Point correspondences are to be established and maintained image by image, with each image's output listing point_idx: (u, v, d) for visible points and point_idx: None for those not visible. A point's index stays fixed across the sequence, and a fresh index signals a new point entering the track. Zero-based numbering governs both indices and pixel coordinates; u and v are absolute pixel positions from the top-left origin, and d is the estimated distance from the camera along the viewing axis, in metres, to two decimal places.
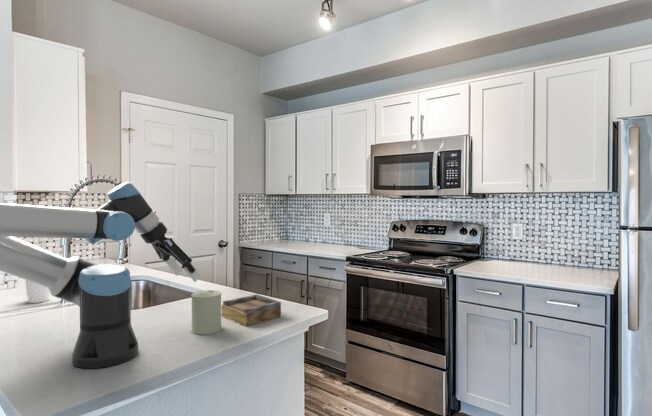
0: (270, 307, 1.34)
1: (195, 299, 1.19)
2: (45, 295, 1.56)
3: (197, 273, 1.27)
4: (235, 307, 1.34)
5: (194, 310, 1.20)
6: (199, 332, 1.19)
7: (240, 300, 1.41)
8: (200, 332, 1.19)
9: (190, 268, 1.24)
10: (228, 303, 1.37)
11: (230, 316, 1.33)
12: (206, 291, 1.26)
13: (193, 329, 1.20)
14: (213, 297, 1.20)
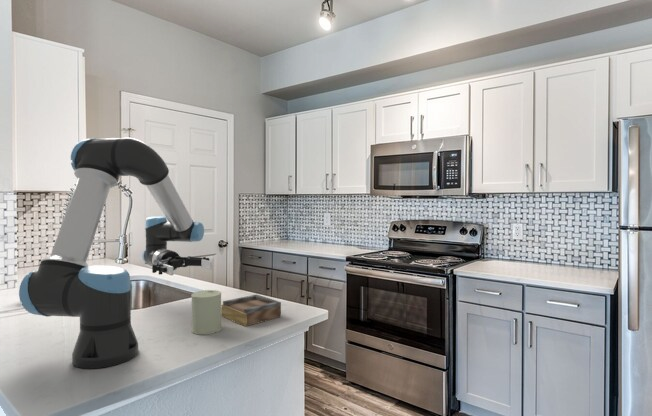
0: (270, 307, 1.34)
1: (195, 299, 1.19)
2: None
3: None
4: (235, 307, 1.34)
5: (194, 310, 1.20)
6: (199, 332, 1.19)
7: (240, 300, 1.41)
8: (200, 332, 1.19)
9: None
10: (228, 303, 1.37)
11: (230, 316, 1.33)
12: (206, 291, 1.26)
13: (193, 329, 1.20)
14: (213, 297, 1.20)
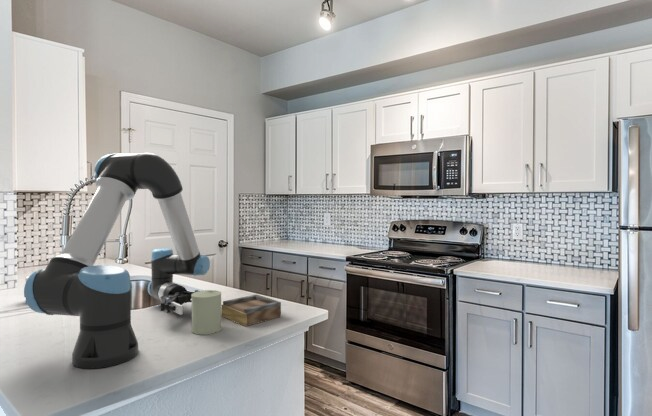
0: (270, 307, 1.34)
1: (195, 299, 1.19)
2: None
3: None
4: (235, 307, 1.34)
5: (194, 310, 1.20)
6: (199, 332, 1.19)
7: (240, 300, 1.41)
8: (200, 332, 1.19)
9: None
10: (228, 303, 1.37)
11: (230, 316, 1.33)
12: (206, 291, 1.26)
13: (193, 329, 1.20)
14: (213, 297, 1.20)
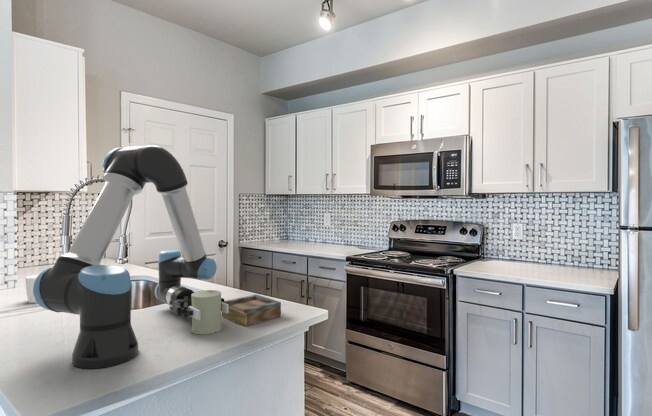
0: (270, 307, 1.34)
1: (195, 299, 1.19)
2: None
3: None
4: (235, 307, 1.34)
5: None
6: (199, 332, 1.19)
7: (240, 300, 1.41)
8: (200, 332, 1.19)
9: None
10: (228, 303, 1.37)
11: (230, 316, 1.33)
12: (206, 291, 1.26)
13: (193, 329, 1.20)
14: (213, 297, 1.20)
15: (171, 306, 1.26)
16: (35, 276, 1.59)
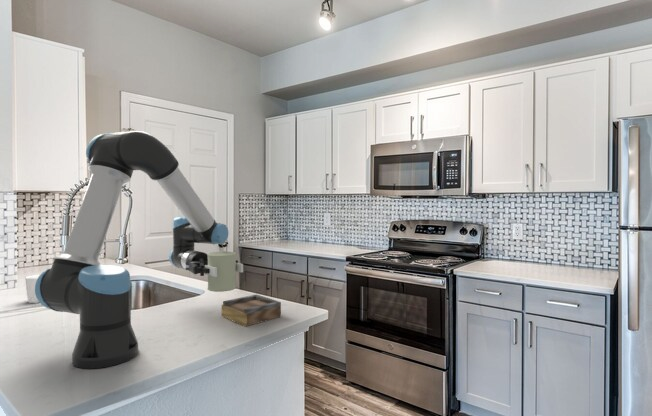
0: (270, 307, 1.34)
1: (212, 257, 1.24)
2: None
3: None
4: (235, 307, 1.34)
5: None
6: (215, 289, 1.24)
7: (240, 300, 1.41)
8: (216, 289, 1.24)
9: None
10: (228, 303, 1.37)
11: (230, 316, 1.33)
12: (221, 252, 1.31)
13: (209, 287, 1.25)
14: (229, 256, 1.25)
15: (187, 267, 1.31)
16: (35, 276, 1.59)
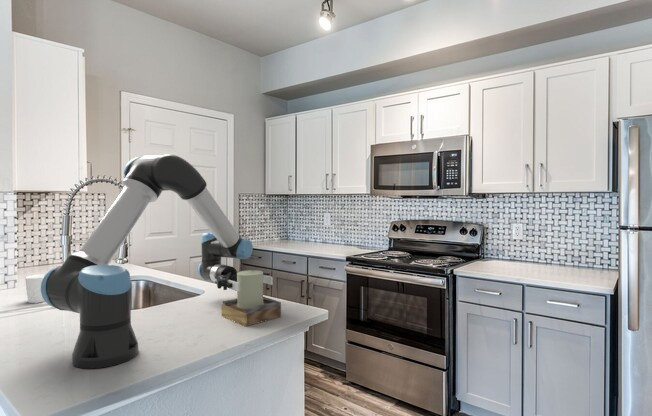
0: (270, 307, 1.34)
1: (241, 277, 1.33)
2: None
3: None
4: (235, 307, 1.34)
5: (240, 287, 1.33)
6: (245, 307, 1.32)
7: None
8: (246, 307, 1.32)
9: None
10: (228, 303, 1.37)
11: (230, 316, 1.33)
12: (249, 271, 1.40)
13: (239, 304, 1.34)
14: (257, 275, 1.33)
15: (216, 280, 1.40)
16: (35, 276, 1.59)
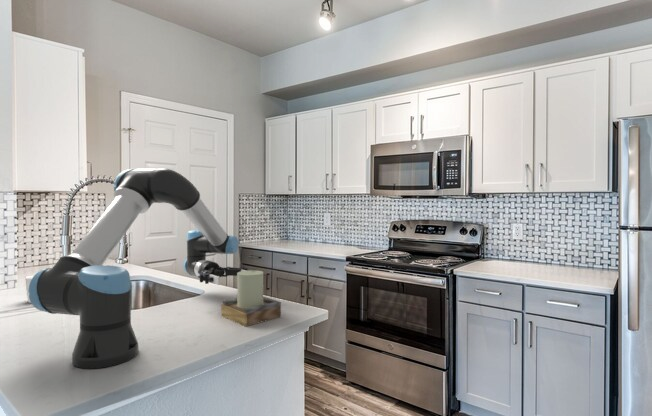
0: (270, 307, 1.34)
1: (242, 276, 1.33)
2: None
3: None
4: (235, 307, 1.34)
5: (240, 287, 1.33)
6: (245, 306, 1.32)
7: None
8: (246, 306, 1.32)
9: None
10: (228, 303, 1.37)
11: (230, 316, 1.33)
12: (249, 271, 1.40)
13: (239, 304, 1.34)
14: (257, 275, 1.33)
15: (199, 275, 1.49)
16: None
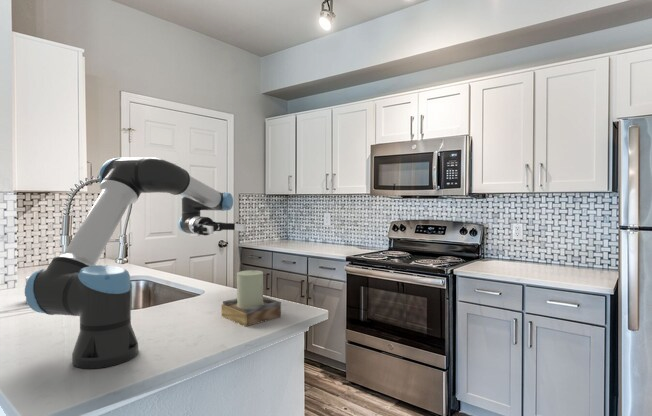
0: (270, 307, 1.34)
1: (241, 277, 1.33)
2: None
3: None
4: (235, 307, 1.34)
5: (240, 287, 1.33)
6: (245, 307, 1.32)
7: None
8: (246, 307, 1.32)
9: None
10: (228, 303, 1.37)
11: (230, 316, 1.33)
12: (249, 271, 1.40)
13: (239, 304, 1.34)
14: (257, 275, 1.33)
15: (193, 228, 1.52)
16: None
